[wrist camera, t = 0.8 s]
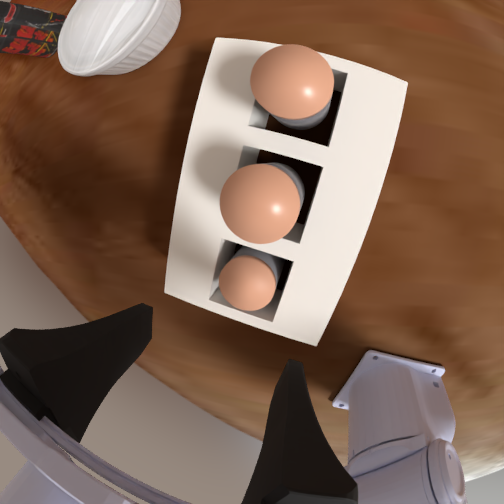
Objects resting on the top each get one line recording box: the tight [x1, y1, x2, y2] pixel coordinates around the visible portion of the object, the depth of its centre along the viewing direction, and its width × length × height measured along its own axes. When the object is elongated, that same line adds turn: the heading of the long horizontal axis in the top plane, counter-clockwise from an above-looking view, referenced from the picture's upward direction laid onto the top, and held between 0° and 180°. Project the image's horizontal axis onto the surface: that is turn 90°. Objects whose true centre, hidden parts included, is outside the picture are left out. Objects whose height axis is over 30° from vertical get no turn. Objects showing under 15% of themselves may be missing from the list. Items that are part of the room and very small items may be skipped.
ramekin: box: [58, 0, 181, 76], centre depth 14 cm, size 11×11×5 cm
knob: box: [250, 44, 334, 130], centre depth 11 cm, size 3×3×5 cm
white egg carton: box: [164, 38, 408, 346], centre depth 16 cm, size 11×17×5 cm, turn 166°
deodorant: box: [0, 1, 67, 58], centre depth 11 cm, size 6×6×15 cm
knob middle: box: [220, 163, 305, 244], centre depth 13 cm, size 3×3×5 cm
